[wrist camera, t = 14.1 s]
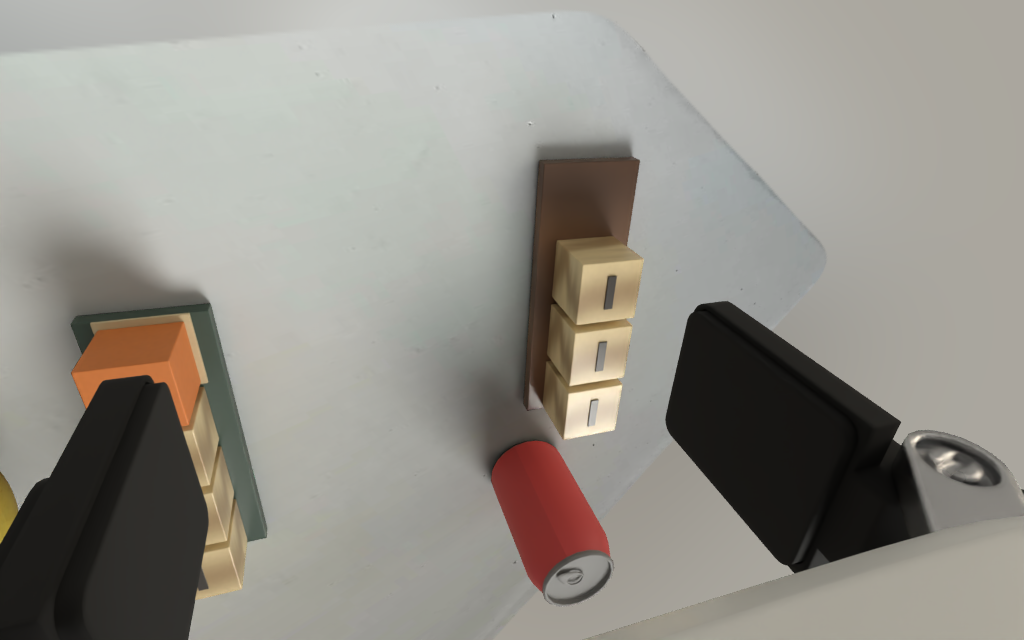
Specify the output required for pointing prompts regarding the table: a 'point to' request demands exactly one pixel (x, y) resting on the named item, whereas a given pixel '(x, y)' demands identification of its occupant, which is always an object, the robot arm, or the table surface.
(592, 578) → the beer can
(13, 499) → the fruit
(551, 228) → the slotted cubes on board
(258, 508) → the slotted cube rack
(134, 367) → the orange slotted cube
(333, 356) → the table surface
